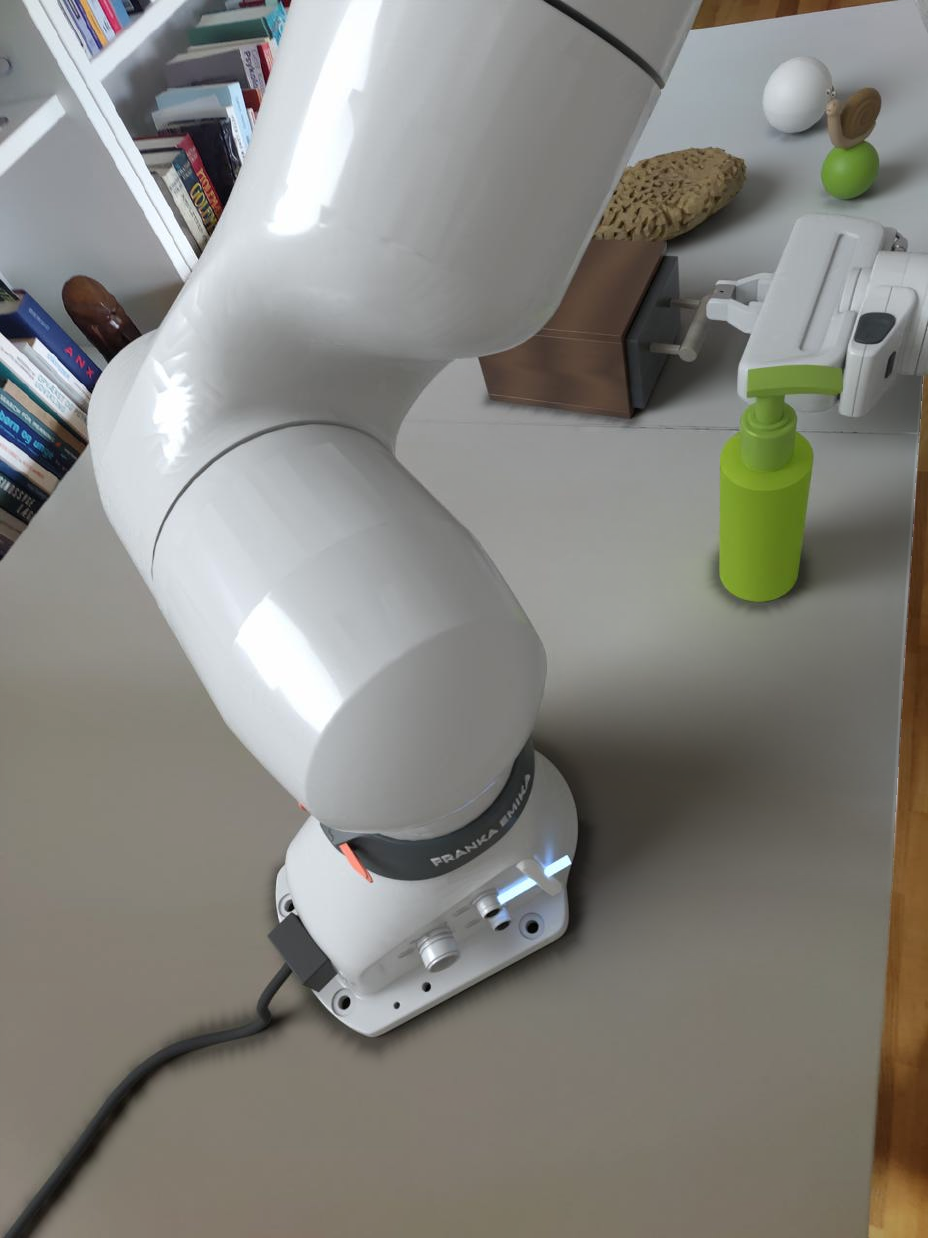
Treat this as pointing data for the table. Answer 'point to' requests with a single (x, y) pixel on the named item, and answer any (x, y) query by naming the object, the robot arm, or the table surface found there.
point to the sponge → (670, 194)
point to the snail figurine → (851, 144)
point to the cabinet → (582, 336)
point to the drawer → (661, 331)
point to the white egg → (797, 94)
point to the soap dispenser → (768, 483)
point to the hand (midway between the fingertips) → (711, 299)
